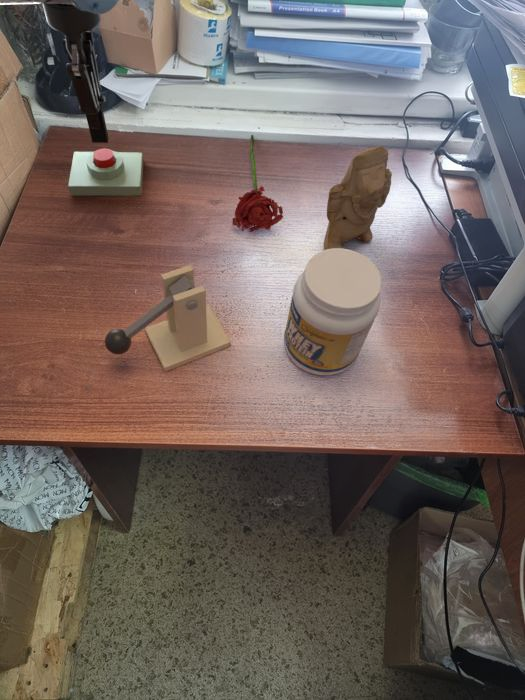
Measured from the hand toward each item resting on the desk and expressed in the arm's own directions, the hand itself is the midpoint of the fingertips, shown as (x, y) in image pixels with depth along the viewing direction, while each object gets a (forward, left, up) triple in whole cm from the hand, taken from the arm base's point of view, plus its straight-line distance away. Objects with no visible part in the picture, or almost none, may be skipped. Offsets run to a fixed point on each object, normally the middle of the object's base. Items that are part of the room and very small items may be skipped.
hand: (100, 140), depth 91 cm
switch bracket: (+15, -38, -8) cm, 42 cm away
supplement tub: (+36, -40, -9) cm, 54 cm away
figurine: (+44, -18, -9) cm, 48 cm away
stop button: (0, 0, -5) cm, 5 cm away
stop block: (0, 0, -8) cm, 8 cm away
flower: (+30, -2, -9) cm, 31 cm away
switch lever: (+11, -40, -1) cm, 41 cm away
